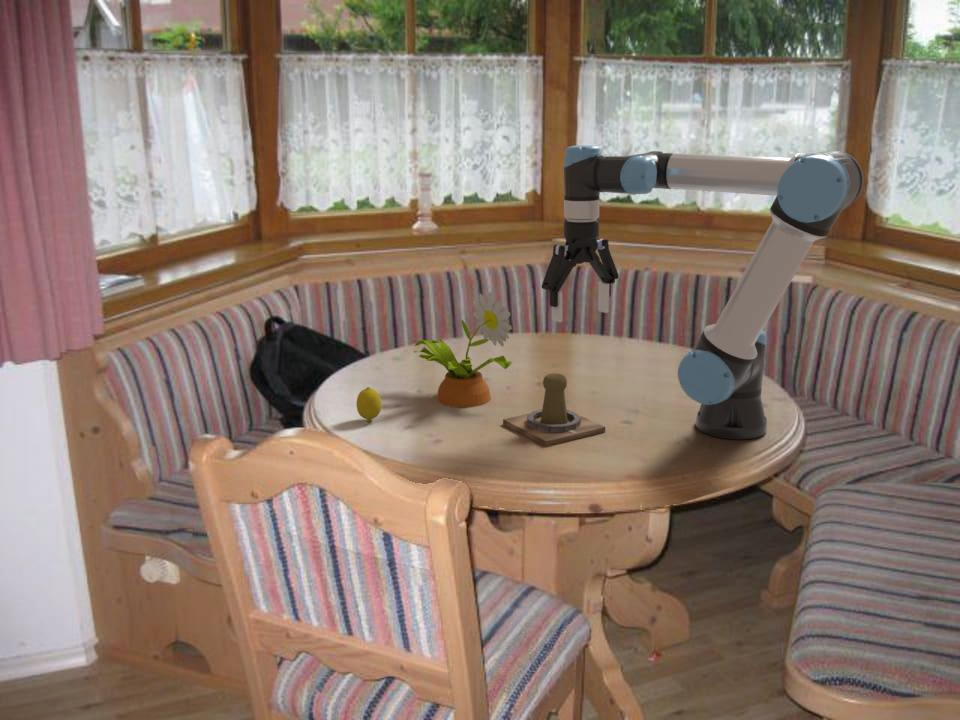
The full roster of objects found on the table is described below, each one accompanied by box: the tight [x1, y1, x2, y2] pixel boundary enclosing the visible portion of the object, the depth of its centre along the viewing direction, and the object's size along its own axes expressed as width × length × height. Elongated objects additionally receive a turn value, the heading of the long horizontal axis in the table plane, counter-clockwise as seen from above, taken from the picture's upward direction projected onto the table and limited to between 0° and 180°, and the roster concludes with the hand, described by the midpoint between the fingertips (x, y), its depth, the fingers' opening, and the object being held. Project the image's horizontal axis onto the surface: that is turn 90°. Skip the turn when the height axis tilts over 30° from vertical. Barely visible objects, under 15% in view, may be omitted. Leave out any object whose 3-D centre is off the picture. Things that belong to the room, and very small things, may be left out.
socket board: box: [502, 408, 606, 447], centre depth 216 cm, size 16×16×2 cm
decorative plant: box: [413, 291, 513, 408], centre depth 232 cm, size 27×24×25 cm
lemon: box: [356, 386, 382, 422], centre depth 219 cm, size 6×6×8 cm
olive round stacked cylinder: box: [540, 373, 568, 425], centre depth 214 cm, size 6×6×11 cm
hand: (580, 316), depth 215 cm, fingers open, 13 cm apart
